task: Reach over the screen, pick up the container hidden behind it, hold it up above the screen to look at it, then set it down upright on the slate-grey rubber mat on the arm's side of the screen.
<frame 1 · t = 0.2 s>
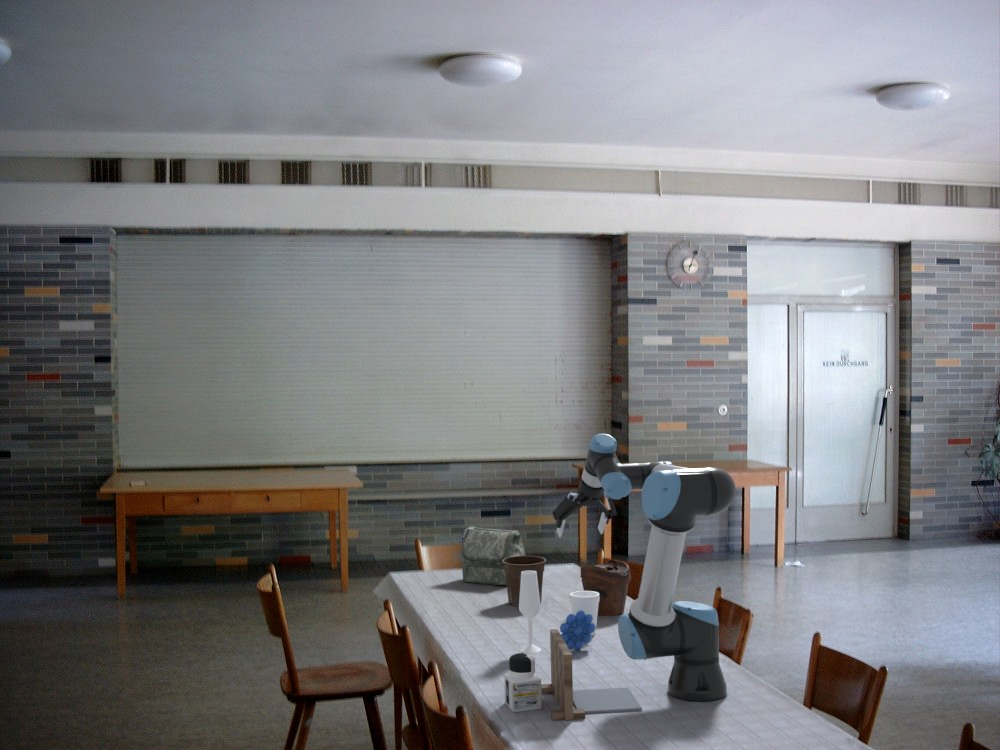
hand: (579, 532, 298), 36 cm above the table, tool tilted 35°, fingers open, 13 cm apart
container: (523, 706, 249), on the table
foam cup: (585, 634, 316), on the table
lunch bag: (493, 581, 400), on the table
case: (606, 612, 345), on the table
mat: (604, 701, 251), on the table
champagne flute: (530, 650, 299), on the table
grapes: (576, 649, 299), on the table
plant pot: (525, 603, 360), on the table
screen: (561, 703, 250), on the table
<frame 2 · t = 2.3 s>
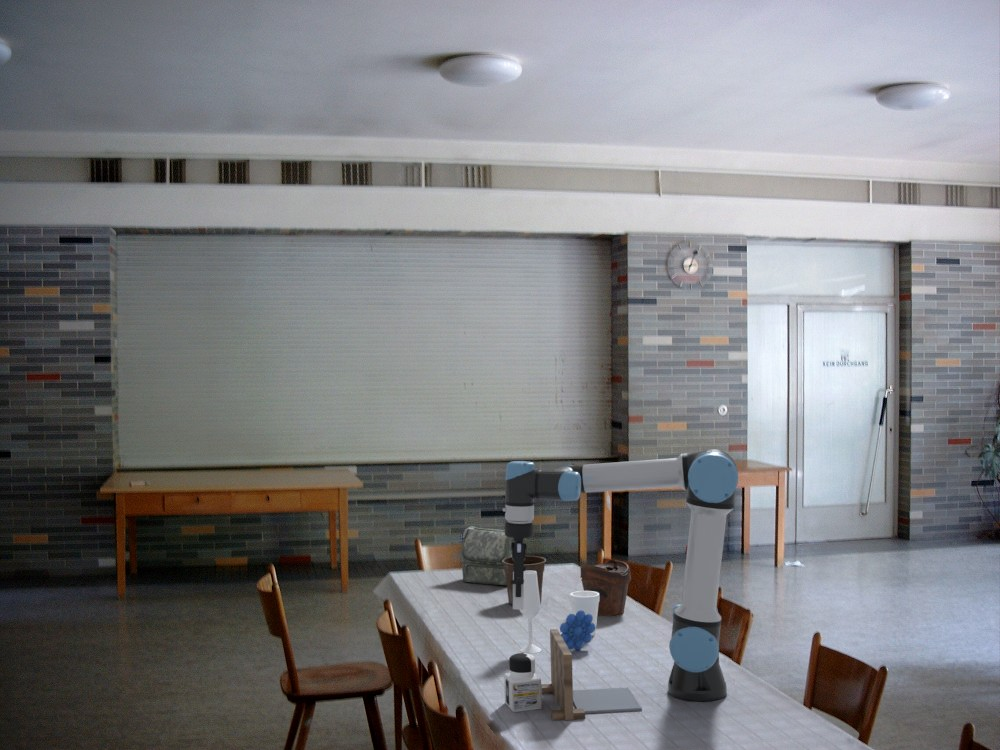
hand: (517, 602, 253), 25 cm above the table, tool pointing down, fingers open, 13 cm apart
nothing on the table moved.
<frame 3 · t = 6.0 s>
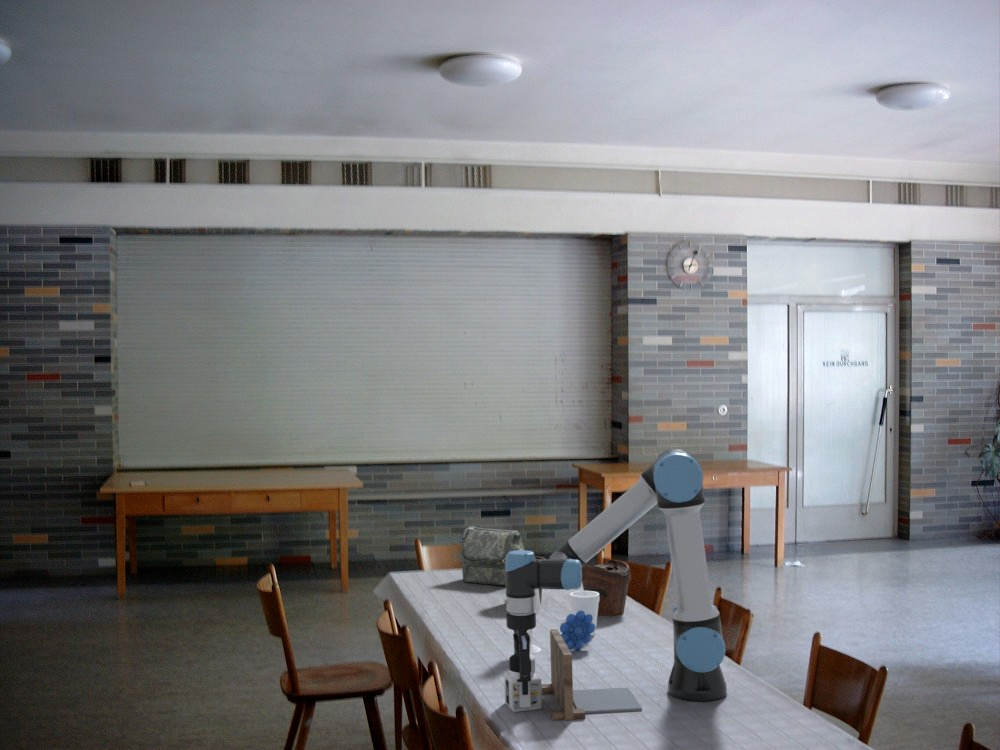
hand: (523, 700, 249), 1 cm above the table, tool pointing down, fingers closed on container, 8 cm apart
container: (523, 706, 249), on the table, touching gripper
everything else where it was.
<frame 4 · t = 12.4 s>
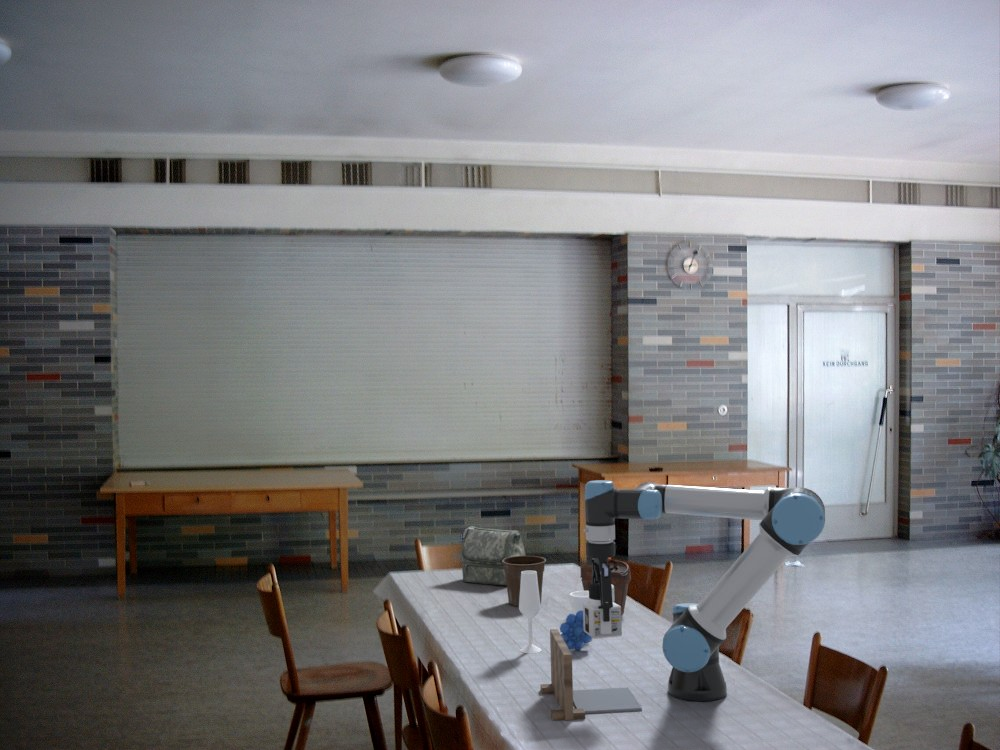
hand: (602, 628, 251), 19 cm above the table, tool pointing down, fingers closed on container, 8 cm apart
container: (602, 634, 251), point 17 cm above the table, touching gripper
everything else where it was.
when the fingers open (4 cm above the table, at t = 15.9 s): container drops 2 cm, resting on mat.
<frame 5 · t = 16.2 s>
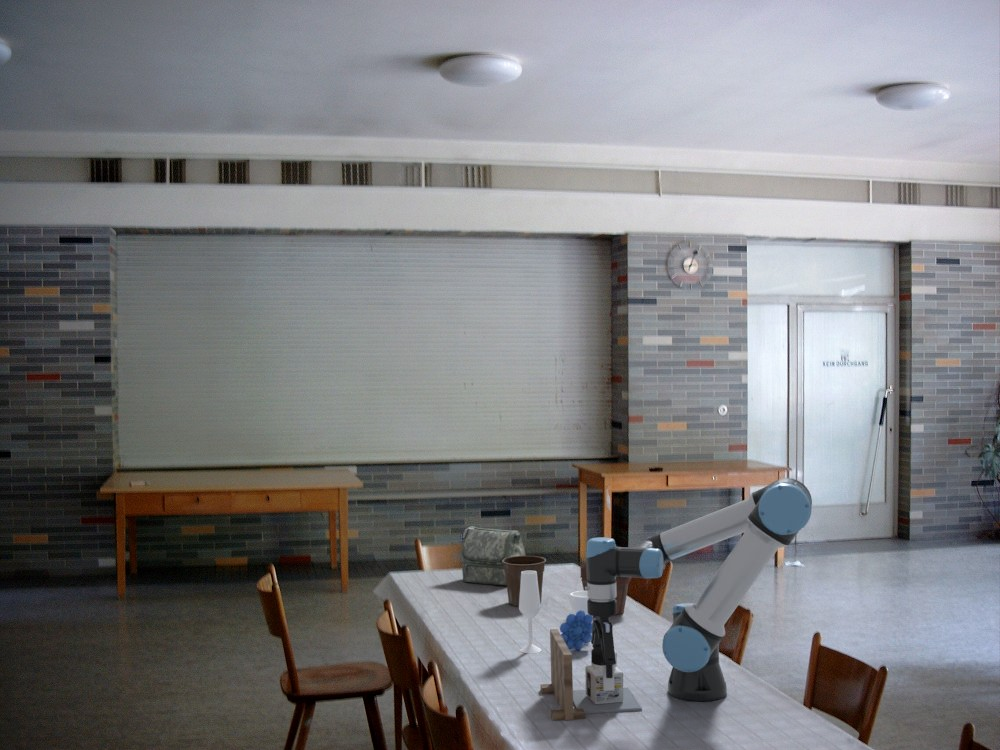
hand: (603, 681, 251), 5 cm above the table, tool pointing down, fingers open, 12 cm apart
container: (604, 699, 251), resting on mat
everything else where it was.
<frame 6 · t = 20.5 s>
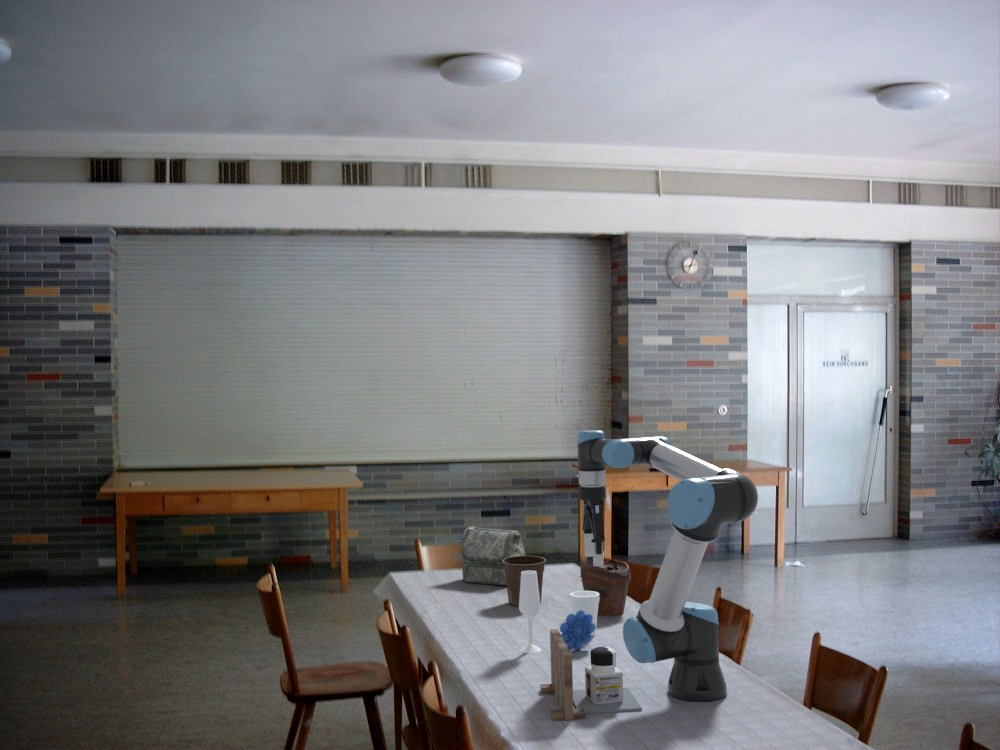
hand: (593, 561, 274), 32 cm above the table, tool pointing down, fingers open, 13 cm apart
nothing on the table moved.
at the end: container inside the target area on the mat (0.0 cm from its centre), point 0.4 cm above the mat's base; container tilted 0°; the gripper is holding nothing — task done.
